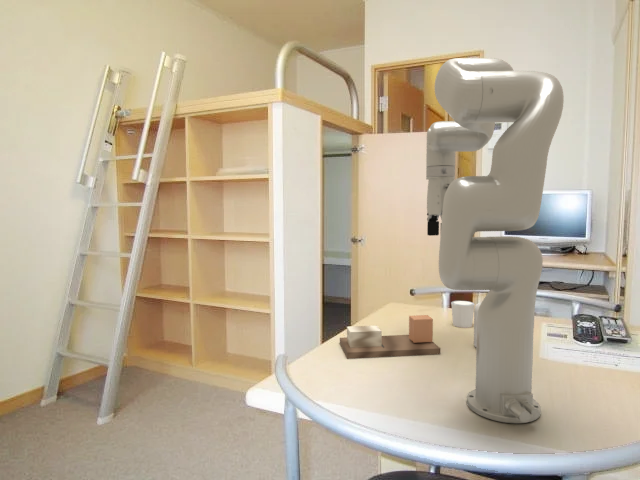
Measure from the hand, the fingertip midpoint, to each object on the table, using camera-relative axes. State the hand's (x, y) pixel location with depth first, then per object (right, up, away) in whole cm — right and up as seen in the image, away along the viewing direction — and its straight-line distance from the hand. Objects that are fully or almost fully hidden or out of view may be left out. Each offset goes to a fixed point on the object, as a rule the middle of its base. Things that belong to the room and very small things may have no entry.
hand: (439, 236), depth 121 cm
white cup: (+11, -27, +15) cm, 33 cm away
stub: (-6, -27, -5) cm, 28 cm away
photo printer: (+11, -29, -8) cm, 32 cm away
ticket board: (-15, -29, -6) cm, 33 cm away
